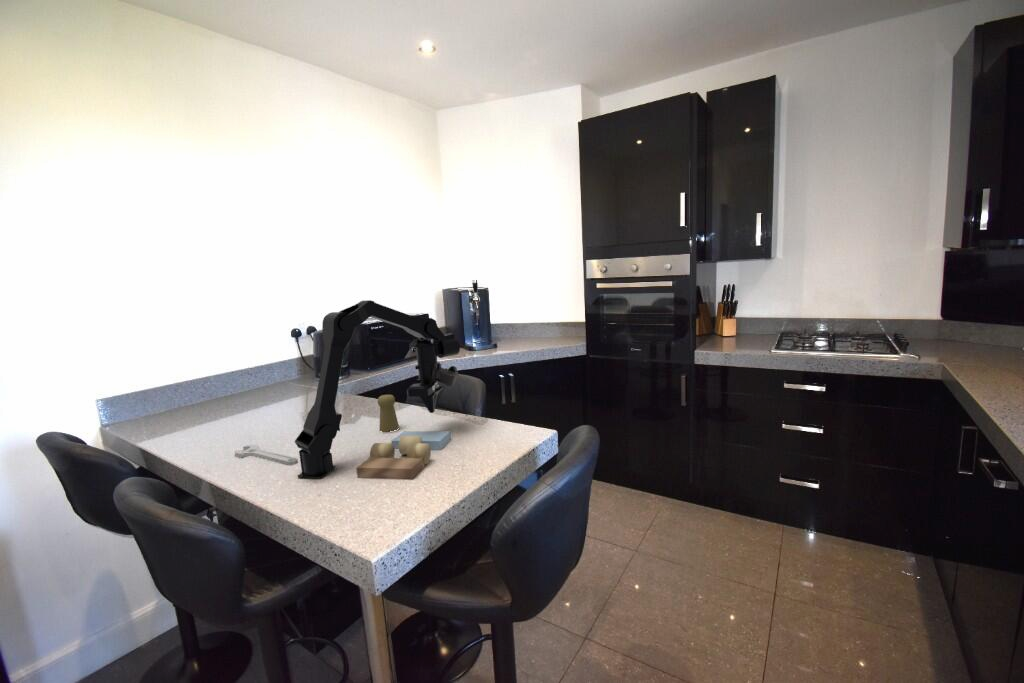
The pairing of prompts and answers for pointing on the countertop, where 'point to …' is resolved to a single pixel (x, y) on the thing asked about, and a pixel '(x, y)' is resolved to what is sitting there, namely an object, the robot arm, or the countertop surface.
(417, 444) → the wooden tray with rolls
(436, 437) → the light blue block
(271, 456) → the adjustable wrench
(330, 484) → the countertop surface
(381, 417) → the cork
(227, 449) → the countertop surface
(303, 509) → the countertop surface
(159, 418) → the countertop surface
